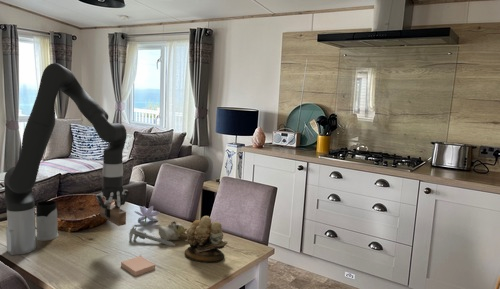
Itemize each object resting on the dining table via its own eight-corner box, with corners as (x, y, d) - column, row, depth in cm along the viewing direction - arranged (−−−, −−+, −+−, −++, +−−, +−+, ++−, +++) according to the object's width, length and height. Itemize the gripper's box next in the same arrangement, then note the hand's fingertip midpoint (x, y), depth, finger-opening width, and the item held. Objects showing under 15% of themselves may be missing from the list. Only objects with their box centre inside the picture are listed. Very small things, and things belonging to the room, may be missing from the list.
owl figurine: (231, 254, 153) (233, 214, 150) (220, 266, 141) (222, 223, 139) (191, 246, 158) (193, 208, 156) (178, 257, 147) (179, 216, 145)
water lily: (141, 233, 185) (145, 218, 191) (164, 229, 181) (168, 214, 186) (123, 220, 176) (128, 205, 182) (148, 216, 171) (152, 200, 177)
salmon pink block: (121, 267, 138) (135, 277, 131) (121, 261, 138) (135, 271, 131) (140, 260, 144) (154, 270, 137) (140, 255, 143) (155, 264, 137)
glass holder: (51, 241, 156) (50, 206, 154) (18, 239, 156) (17, 204, 154) (62, 233, 165) (61, 200, 163) (31, 231, 165) (29, 198, 163)
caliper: (129, 241, 161) (129, 226, 160) (130, 240, 162) (130, 226, 161) (174, 246, 158) (175, 232, 157) (175, 245, 159) (176, 231, 158)
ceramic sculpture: (155, 218, 164) (187, 216, 172) (153, 237, 165) (185, 234, 173) (162, 227, 155) (196, 224, 163) (161, 246, 156) (194, 243, 164)
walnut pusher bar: (118, 226, 141) (118, 213, 141) (99, 215, 152) (99, 203, 152) (125, 224, 144) (125, 212, 143) (106, 213, 154) (106, 202, 154)
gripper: (99, 178, 138) (99, 223, 140) (134, 174, 148) (133, 215, 150) (90, 174, 143) (90, 217, 145) (124, 170, 153) (124, 211, 155)
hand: (112, 216), depth 148 cm, fingers closed on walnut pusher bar, 3 cm apart
